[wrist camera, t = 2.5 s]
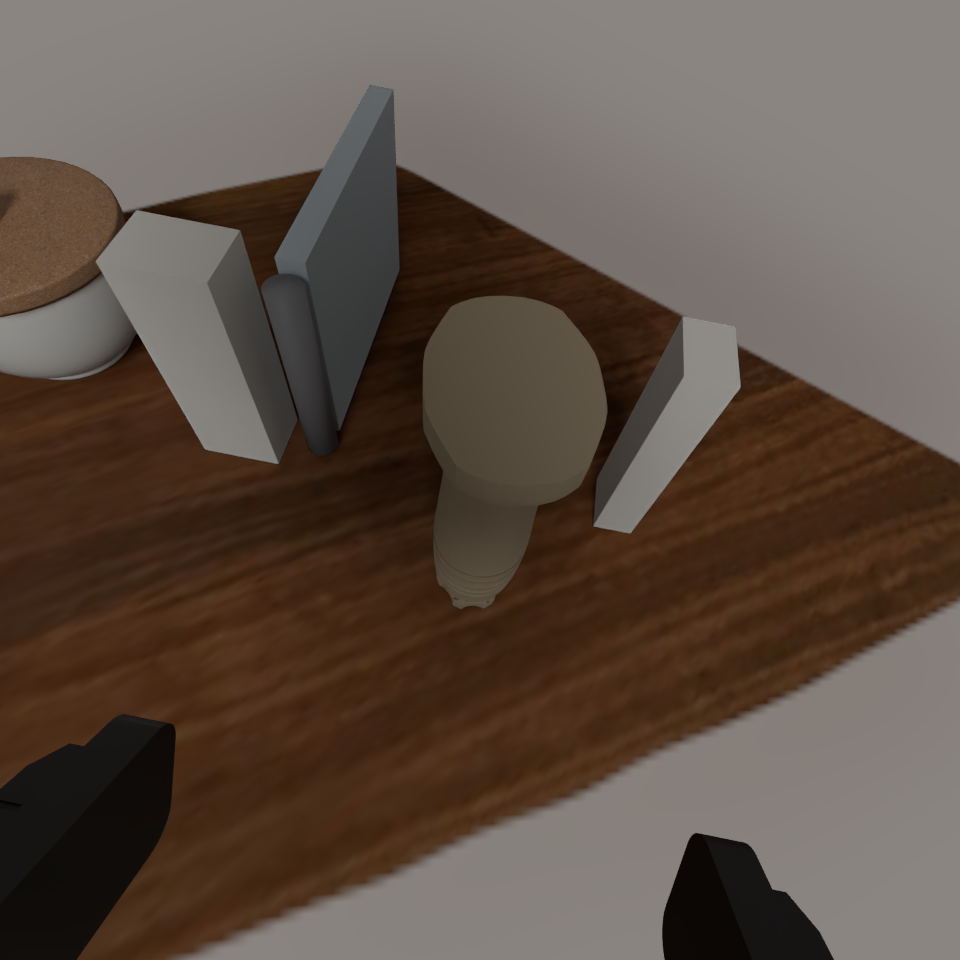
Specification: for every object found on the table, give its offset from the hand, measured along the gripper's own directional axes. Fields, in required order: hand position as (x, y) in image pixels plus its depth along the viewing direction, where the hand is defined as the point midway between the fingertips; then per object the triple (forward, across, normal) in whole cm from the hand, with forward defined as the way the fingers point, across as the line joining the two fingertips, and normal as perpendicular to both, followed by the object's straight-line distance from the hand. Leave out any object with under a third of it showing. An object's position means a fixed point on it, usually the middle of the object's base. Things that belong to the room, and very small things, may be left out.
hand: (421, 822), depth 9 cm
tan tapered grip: (+19, 0, +4) cm, 19 cm away
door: (+27, +9, -5) cm, 29 cm away
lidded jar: (+26, +25, -2) cm, 36 cm away
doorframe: (+23, +4, 0) cm, 23 cm away
